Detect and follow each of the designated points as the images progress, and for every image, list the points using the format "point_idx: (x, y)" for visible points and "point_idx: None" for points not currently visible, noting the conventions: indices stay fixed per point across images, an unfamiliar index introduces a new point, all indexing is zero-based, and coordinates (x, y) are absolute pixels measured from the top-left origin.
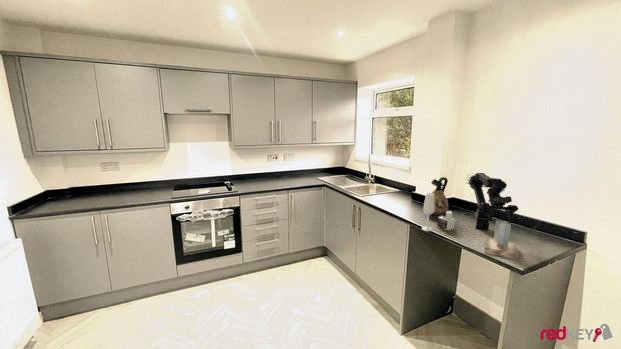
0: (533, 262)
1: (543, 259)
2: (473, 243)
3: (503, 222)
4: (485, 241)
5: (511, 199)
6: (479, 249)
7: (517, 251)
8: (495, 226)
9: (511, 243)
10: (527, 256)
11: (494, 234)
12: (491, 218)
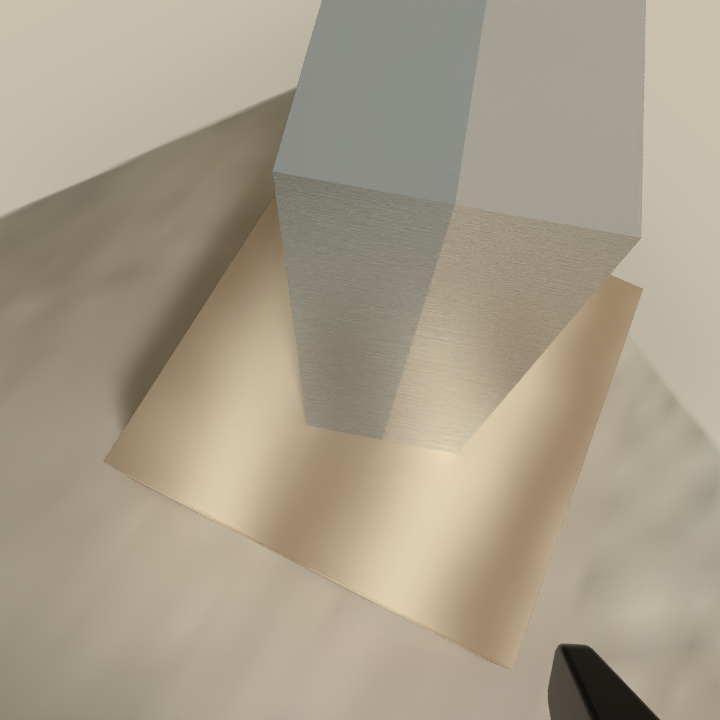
0: (181, 152)
1: (5, 217)
2: (668, 600)
3: (478, 65)
4: (564, 488)
5: None
6: (642, 400)
7: (272, 207)
8: (553, 338)
9: (171, 453)
10: (137, 270)
11: (492, 407)
12: (629, 699)
